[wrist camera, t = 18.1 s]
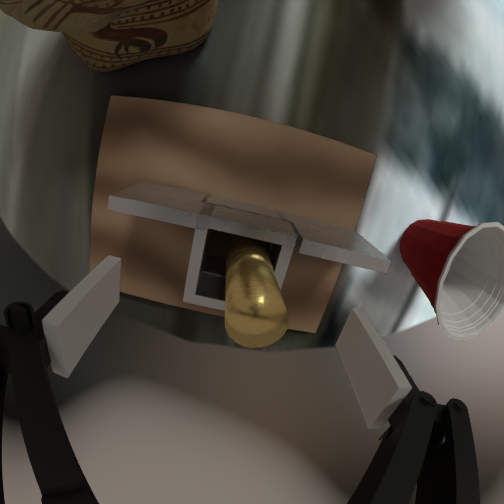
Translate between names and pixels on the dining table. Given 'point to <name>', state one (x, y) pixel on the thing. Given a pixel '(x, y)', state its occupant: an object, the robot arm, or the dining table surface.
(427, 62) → the dining table surface
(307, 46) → the dining table surface
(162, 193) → the flanged square frame
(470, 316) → the plastic cup
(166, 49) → the ceramic vessel
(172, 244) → the board
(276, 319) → the pin
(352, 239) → the fixed leaf
